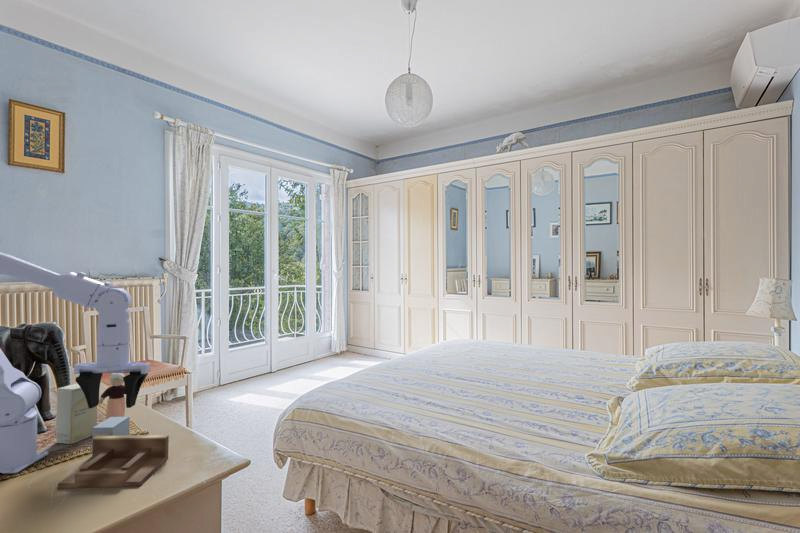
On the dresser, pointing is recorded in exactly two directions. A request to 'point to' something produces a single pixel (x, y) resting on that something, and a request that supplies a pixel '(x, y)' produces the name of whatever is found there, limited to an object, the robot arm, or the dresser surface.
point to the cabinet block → (111, 427)
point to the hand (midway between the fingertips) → (112, 406)
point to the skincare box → (74, 415)
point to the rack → (120, 461)
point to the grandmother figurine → (115, 396)
